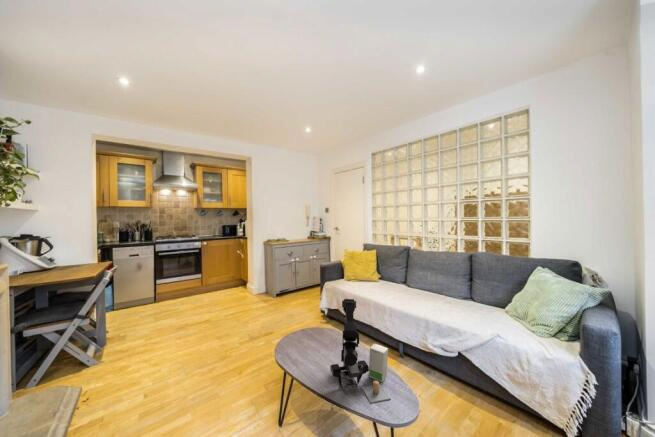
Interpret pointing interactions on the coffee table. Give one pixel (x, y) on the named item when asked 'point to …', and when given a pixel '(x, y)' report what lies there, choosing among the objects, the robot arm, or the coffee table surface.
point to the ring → (349, 388)
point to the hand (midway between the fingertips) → (349, 384)
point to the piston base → (376, 397)
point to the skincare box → (378, 362)
